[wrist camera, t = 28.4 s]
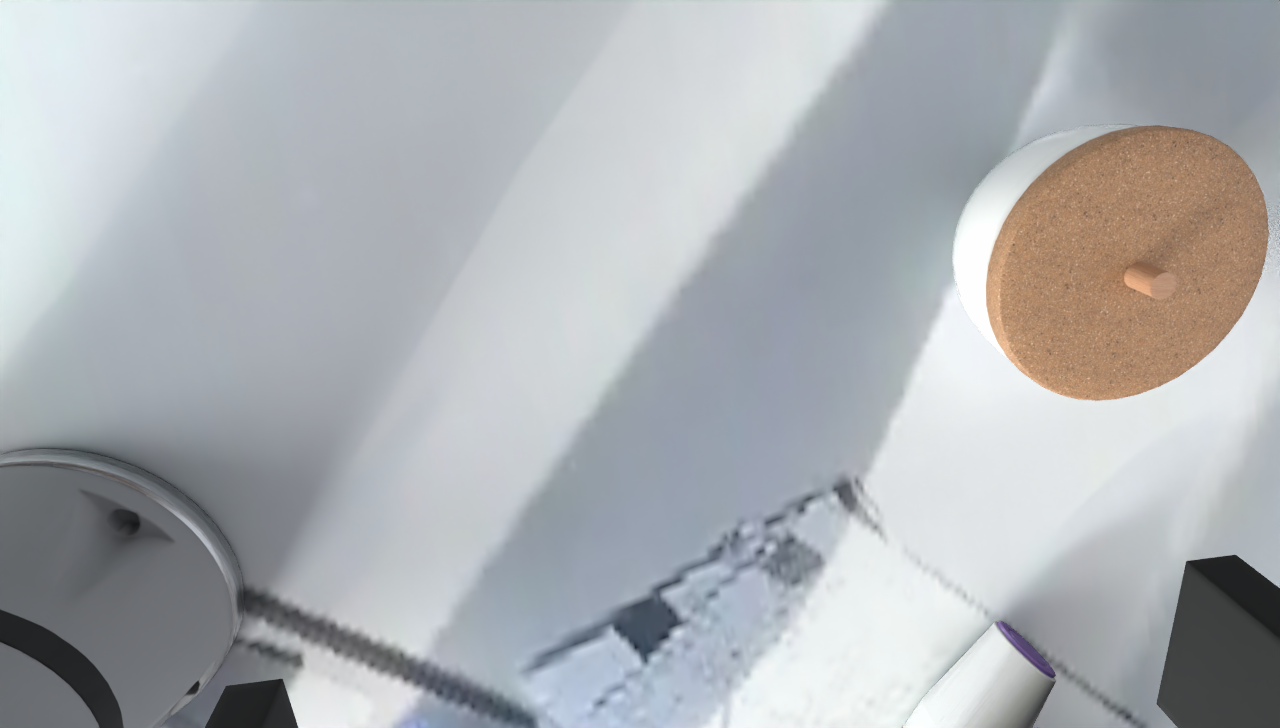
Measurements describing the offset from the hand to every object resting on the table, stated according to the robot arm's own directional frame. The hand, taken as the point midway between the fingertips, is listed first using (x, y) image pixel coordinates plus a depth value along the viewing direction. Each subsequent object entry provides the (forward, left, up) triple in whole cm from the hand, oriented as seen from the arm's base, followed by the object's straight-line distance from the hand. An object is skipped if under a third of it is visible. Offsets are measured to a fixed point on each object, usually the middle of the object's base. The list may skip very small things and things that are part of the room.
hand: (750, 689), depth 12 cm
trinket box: (+19, -1, -27) cm, 33 cm away
